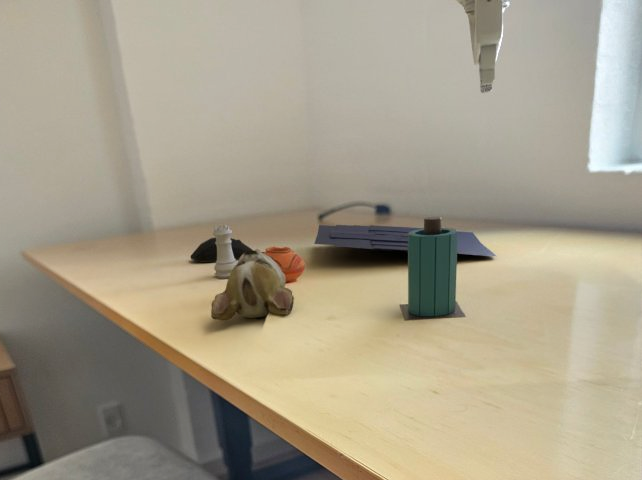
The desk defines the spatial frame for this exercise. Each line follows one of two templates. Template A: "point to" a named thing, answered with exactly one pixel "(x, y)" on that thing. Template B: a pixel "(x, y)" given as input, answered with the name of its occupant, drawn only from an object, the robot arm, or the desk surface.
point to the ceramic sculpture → (253, 289)
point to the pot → (287, 262)
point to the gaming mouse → (209, 250)
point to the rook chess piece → (223, 252)
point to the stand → (434, 228)
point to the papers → (388, 238)
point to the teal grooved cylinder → (432, 272)
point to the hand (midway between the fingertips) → (487, 88)
